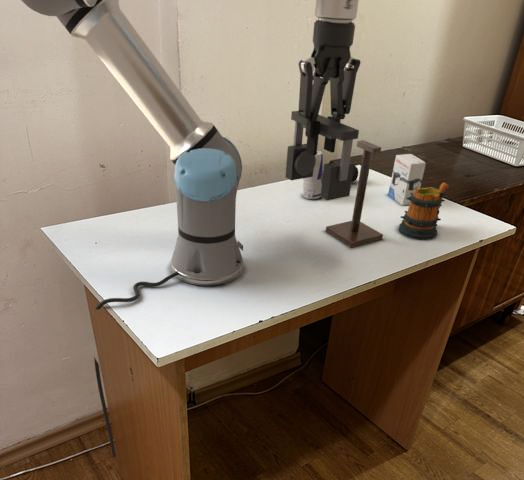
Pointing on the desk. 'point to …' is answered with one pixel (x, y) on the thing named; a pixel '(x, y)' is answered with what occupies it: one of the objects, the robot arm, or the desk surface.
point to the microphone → (355, 174)
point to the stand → (358, 207)
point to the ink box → (406, 177)
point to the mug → (423, 213)
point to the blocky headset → (334, 174)
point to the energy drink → (314, 180)
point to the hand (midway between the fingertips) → (320, 151)
